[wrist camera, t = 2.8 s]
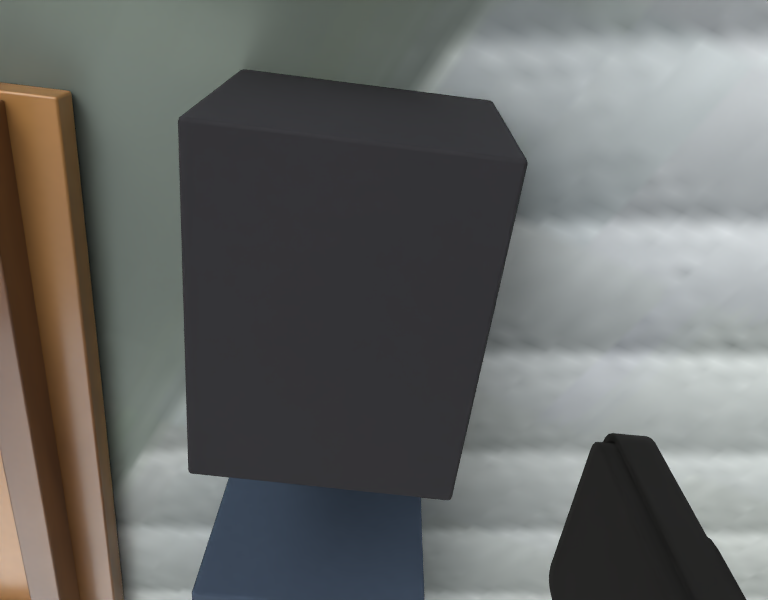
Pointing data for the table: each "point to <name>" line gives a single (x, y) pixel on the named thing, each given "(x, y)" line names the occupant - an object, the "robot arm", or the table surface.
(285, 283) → the charcoal pad
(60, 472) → the brown wooden flat tray
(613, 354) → the table surface
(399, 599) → the slate pad
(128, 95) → the table surface
